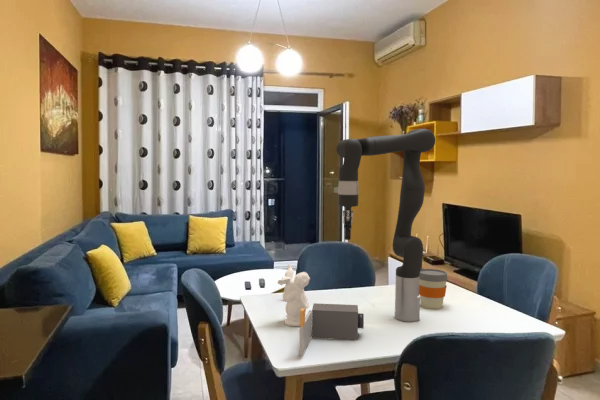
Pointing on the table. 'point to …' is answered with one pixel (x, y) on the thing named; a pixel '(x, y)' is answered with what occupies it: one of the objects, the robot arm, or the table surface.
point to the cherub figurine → (294, 295)
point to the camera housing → (336, 321)
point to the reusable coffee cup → (432, 288)
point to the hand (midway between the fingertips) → (347, 239)
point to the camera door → (305, 330)
